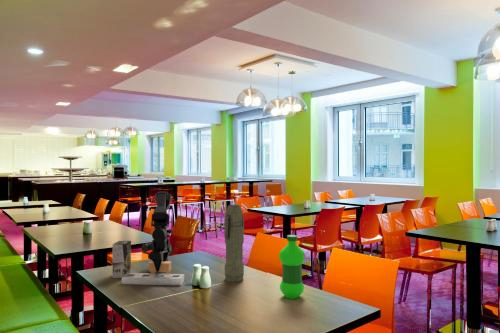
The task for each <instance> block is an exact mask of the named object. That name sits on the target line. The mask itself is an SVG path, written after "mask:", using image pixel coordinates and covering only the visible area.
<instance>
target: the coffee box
mask: <svg viewBox="0 0 500 333" xmlns="http://www.w3.org/2000/svg"><path fill="white" fill-rule="evenodd" d="M111 267H112V268H111V269H112V270H111V271H112V276H111V277H112V278H113V279H122V277H123V276H124V275H125V274H127V273H132V241H131V240H118V241H117V242H114V243H113V244H112V266H111Z"/></svg>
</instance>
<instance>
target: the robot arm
mask: <svg viewBox="0 0 500 333" xmlns="http://www.w3.org/2000/svg"><path fill="white" fill-rule="evenodd" d="M154 201H155V203H156V207H155V208H154V209H153V213H151V223H150V227H152V228H153V231H152V233H151V238H152V241H151V242H149V243H147V242H146V243H143V244H142V246H141V251H142V252H143V253H147V252H149V251H150V252H149V253H148V254H147V259H149V260H150V261H153V262H154V265H155V269H156V273H158V272H159V269H160V266H161V263H162V261H169V256H171V255H172V254H173V249H172V248H173V246H172V244H171V243H170V239H169V238H168V236H167V231H168V230H167V229H168V226H169V225H170V215H169V212H168V209H170V208H169V207H170V206H171V202H172V194H171V193H169V192H167V191H158V192H157V193H155V194H154ZM159 273H160V272H159Z"/></svg>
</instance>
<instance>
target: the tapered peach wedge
mask: <svg viewBox="0 0 500 333" xmlns="http://www.w3.org/2000/svg"><path fill="white" fill-rule="evenodd" d="M171 271H172V261H171V260H168V261H162V263H161V266H160V269H159V273H160V272H161V273H162V272H164V274H171ZM148 272H150V273H154V274H157V272H156V269H155V265H154V262H153V261H152V260H150V261H149V262H148Z"/></svg>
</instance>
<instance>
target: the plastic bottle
mask: <svg viewBox="0 0 500 333" xmlns="http://www.w3.org/2000/svg"><path fill="white" fill-rule="evenodd" d="M286 241H287V244H286V245H285V246H284V247H283V248H282V249H281V250H279V254H278V257H279V261H280V263H281V266H282V269H281V270H282V273H281V275H282V276H281V279H282V280H281V282H280V285H279V290H280V292H281V293H282V294H283V295H284V297H285V298H286V297H287V299H289V298H290V300H294V299H298V298H299V297H300V296H301V295H302V294H303V293H304V290H305V286H304V285H305V284H304V283H303V279H302V278H303V274H302V273H303V270H302V269H303V264H304V262H305V258H306V253H305V251H304V250H303V249H302V248H301V247H300V246H299V245H297V241H298V235H295V234H287V235H286Z"/></svg>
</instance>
